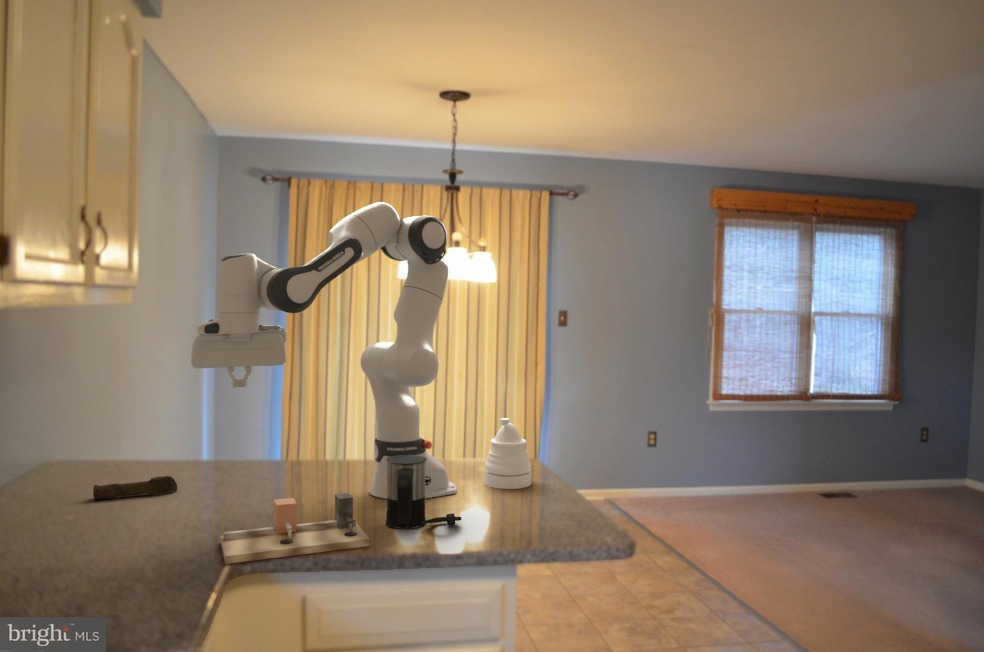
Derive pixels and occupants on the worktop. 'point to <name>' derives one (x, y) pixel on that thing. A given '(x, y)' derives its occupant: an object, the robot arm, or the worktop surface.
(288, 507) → the block
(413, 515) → the milk frother
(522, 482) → the honey pot
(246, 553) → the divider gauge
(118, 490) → the hand tool
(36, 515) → the worktop surface
